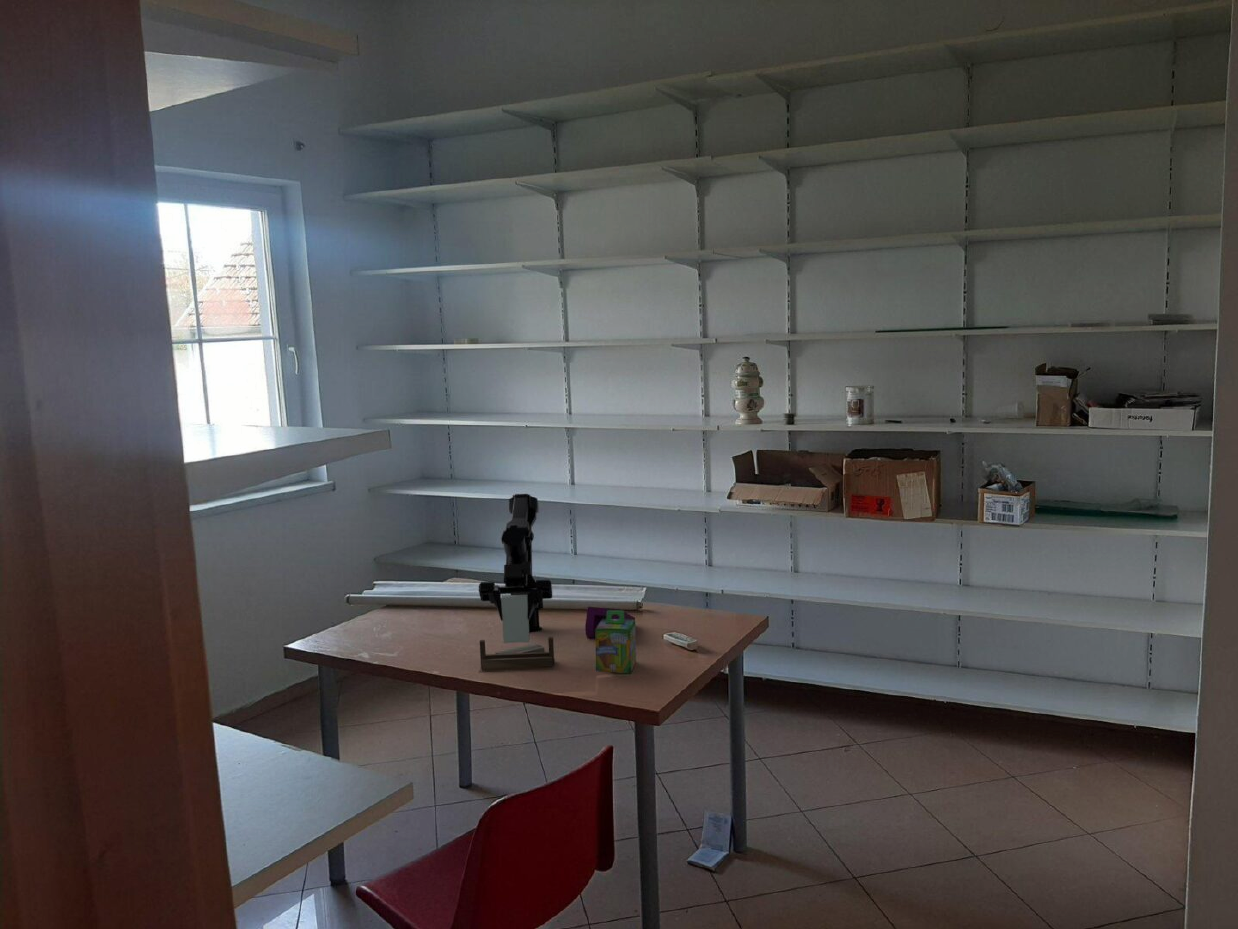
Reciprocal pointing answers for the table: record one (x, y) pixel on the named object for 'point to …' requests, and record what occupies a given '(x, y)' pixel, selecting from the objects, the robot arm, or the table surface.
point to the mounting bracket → (599, 619)
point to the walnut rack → (517, 660)
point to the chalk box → (615, 643)
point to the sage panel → (515, 618)
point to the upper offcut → (523, 649)
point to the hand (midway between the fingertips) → (514, 619)
